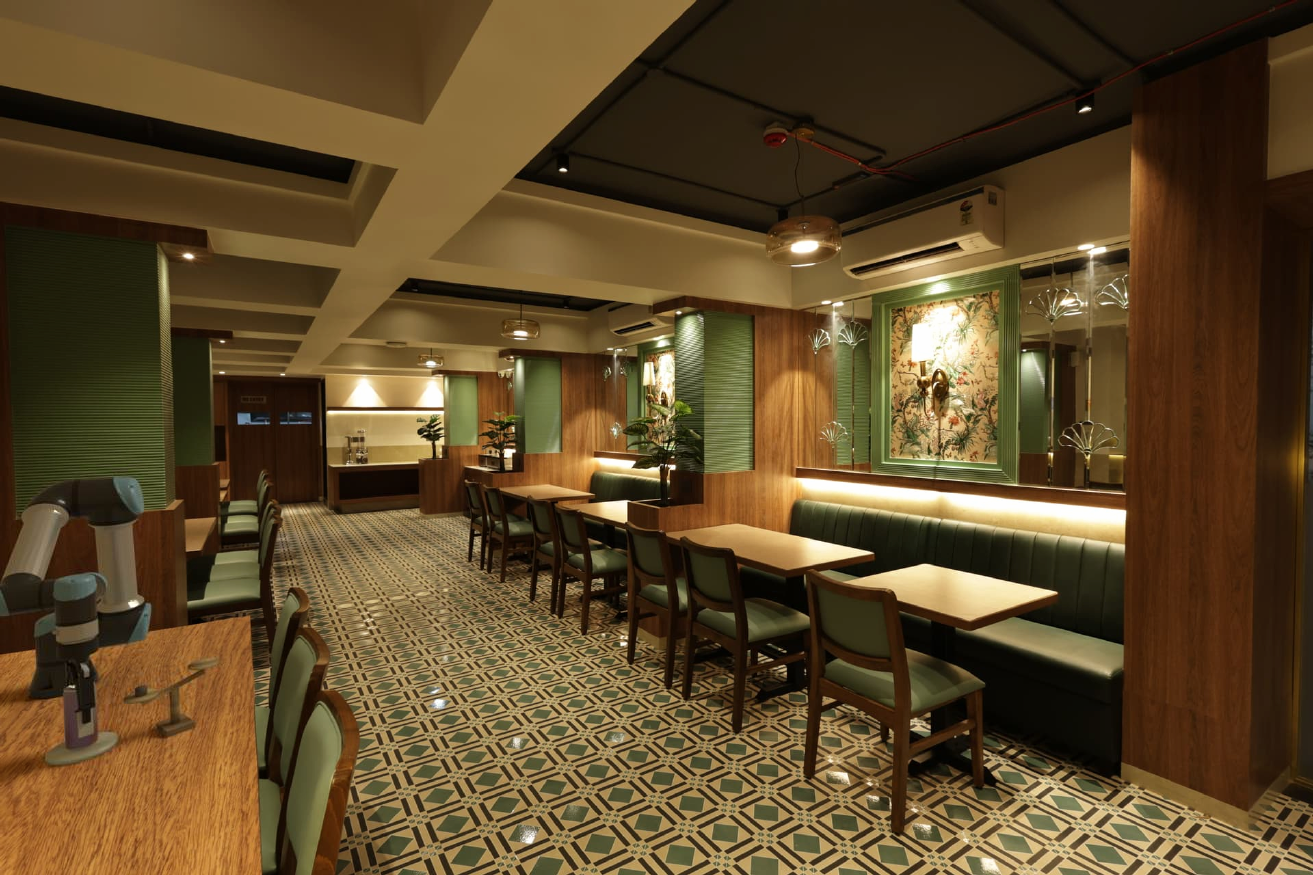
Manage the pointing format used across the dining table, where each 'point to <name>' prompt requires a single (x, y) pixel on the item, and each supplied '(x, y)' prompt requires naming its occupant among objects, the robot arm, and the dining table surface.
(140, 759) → the dining table surface
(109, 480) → the robot arm
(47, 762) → the dish
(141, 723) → the dining table surface
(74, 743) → the beverage can
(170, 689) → the balance
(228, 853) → the dining table surface
